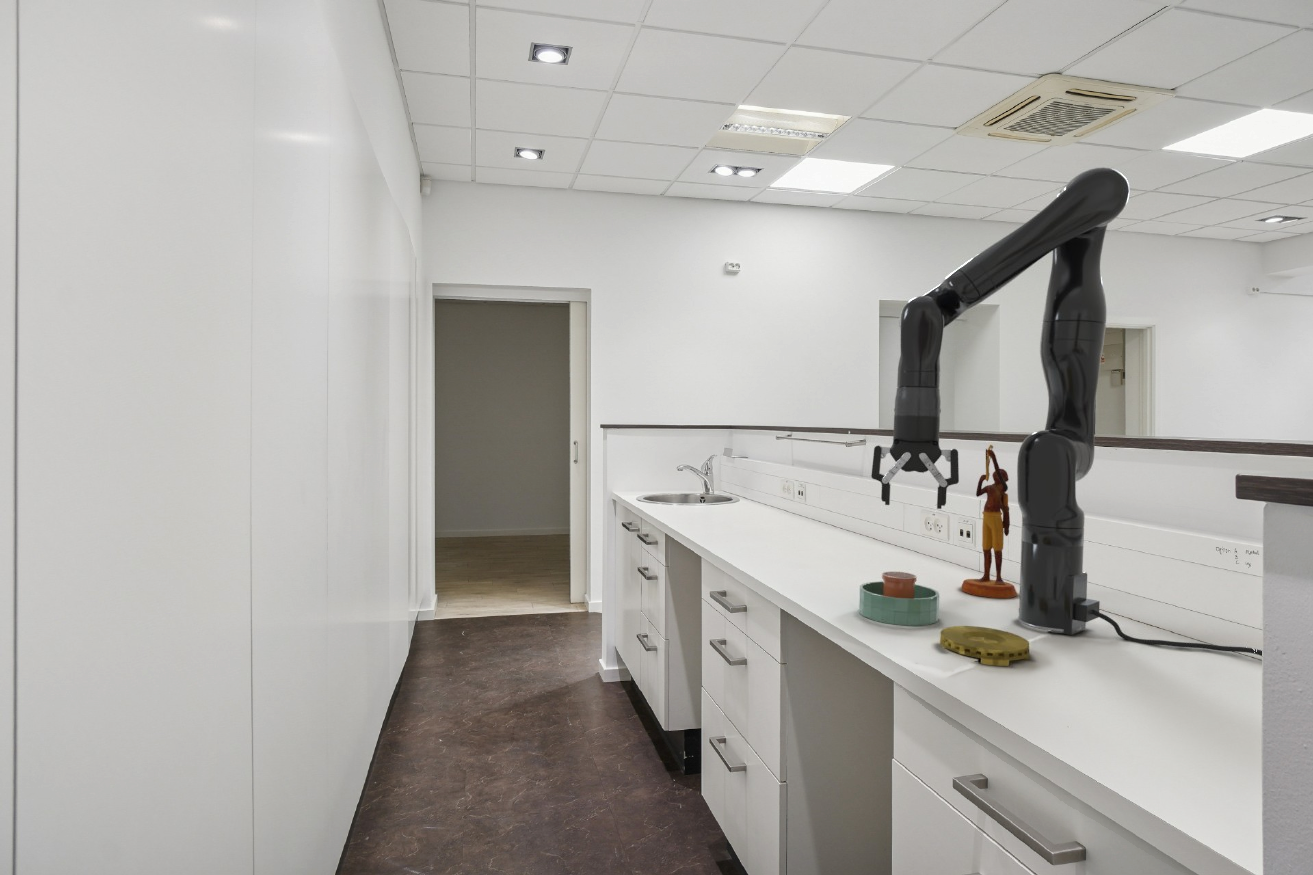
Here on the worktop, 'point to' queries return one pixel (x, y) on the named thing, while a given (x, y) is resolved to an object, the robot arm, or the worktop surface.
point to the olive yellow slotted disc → (985, 644)
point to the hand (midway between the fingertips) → (913, 506)
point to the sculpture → (992, 533)
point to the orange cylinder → (899, 584)
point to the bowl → (899, 605)
